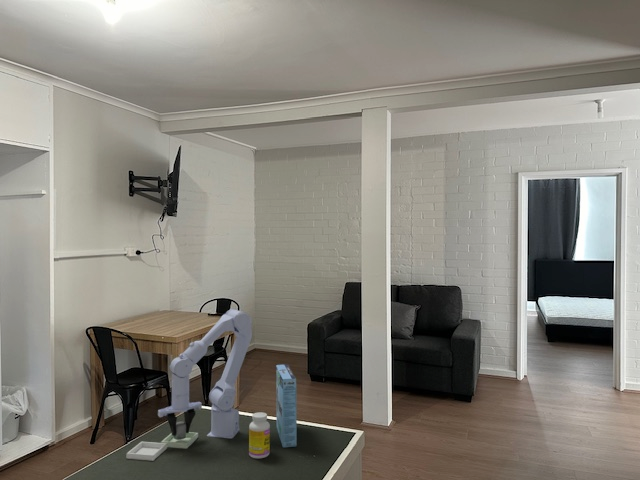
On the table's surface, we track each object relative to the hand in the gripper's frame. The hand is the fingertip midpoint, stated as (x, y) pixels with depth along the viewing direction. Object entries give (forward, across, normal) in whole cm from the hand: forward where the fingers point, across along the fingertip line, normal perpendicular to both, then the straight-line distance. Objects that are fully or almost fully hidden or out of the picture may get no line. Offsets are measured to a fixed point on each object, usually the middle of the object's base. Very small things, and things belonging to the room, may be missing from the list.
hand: (180, 433), depth 162 cm
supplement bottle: (+3, +18, -23) cm, 29 cm away
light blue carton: (+3, +32, -16) cm, 36 cm away
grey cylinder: (+1, 0, 0) cm, 1 cm away
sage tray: (+3, 0, 0) cm, 3 cm away
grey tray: (+3, -12, -2) cm, 12 cm away
